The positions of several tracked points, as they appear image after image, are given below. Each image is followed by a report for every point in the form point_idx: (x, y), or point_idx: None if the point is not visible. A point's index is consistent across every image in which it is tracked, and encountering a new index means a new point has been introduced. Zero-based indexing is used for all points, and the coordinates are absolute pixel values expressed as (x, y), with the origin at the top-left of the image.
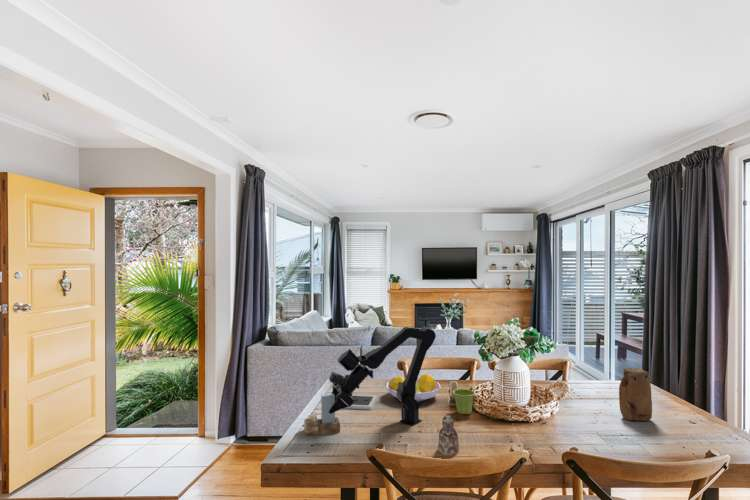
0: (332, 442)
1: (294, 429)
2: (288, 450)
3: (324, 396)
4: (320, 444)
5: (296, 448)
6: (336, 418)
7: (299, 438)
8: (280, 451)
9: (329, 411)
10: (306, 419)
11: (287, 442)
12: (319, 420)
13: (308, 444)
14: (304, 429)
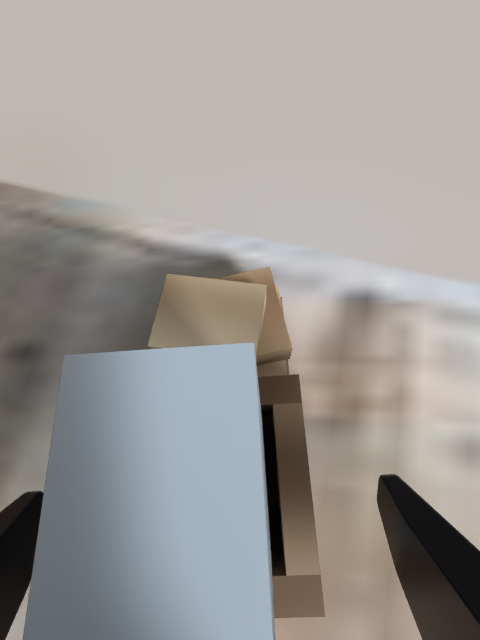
0: (4, 496)
1: (297, 247)
2: (15, 233)
3: (92, 421)
4: (10, 405)
5: (20, 269)
6: (285, 595)
7: (148, 280)
8: (22, 200)
9: (11, 506)
10: (254, 282)
11: (115, 222)
12: (264, 399)
13: (43, 331)
14: None
